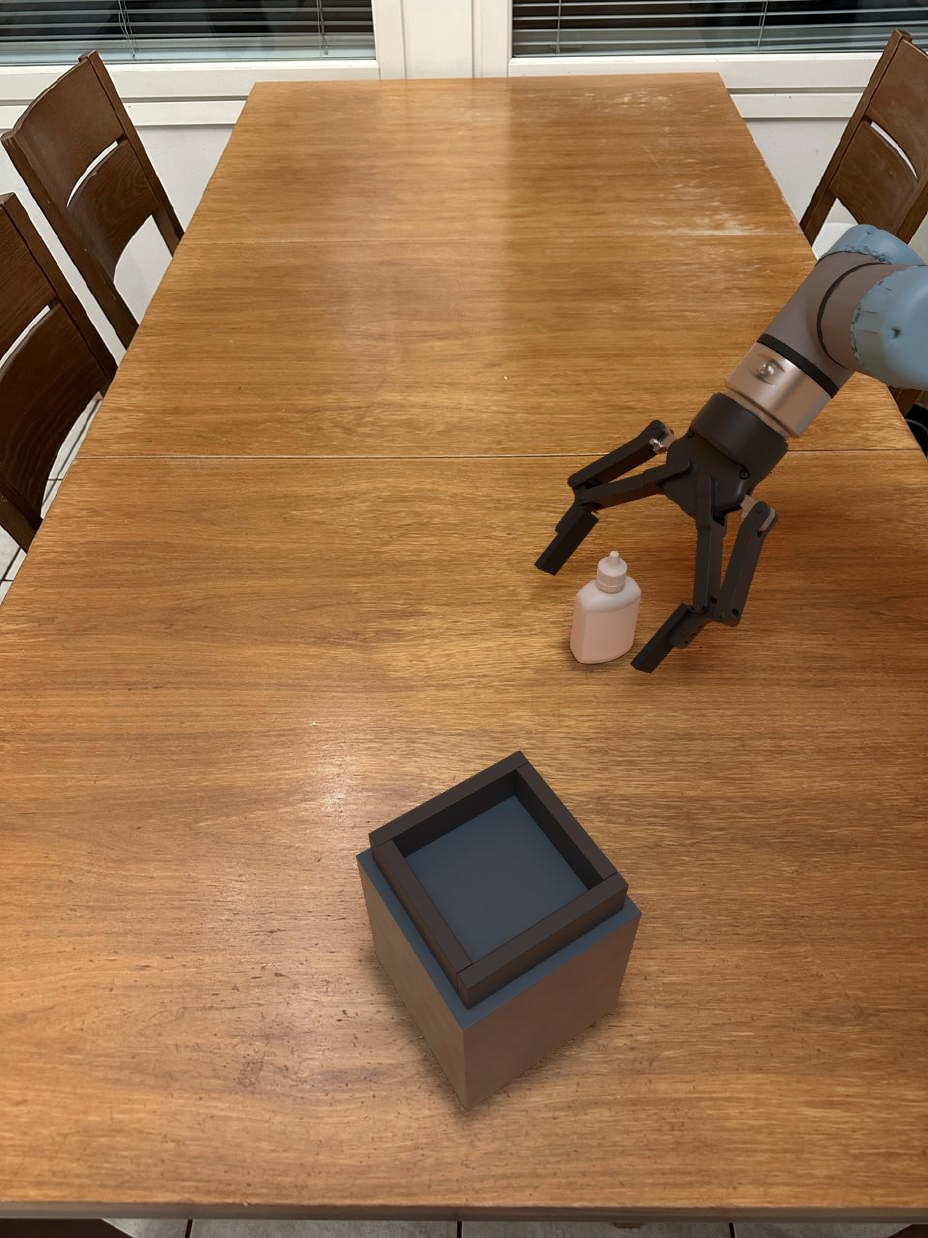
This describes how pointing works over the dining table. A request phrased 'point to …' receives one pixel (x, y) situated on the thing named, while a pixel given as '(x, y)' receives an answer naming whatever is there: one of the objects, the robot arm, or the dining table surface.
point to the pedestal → (497, 924)
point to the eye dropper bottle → (605, 613)
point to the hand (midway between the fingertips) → (589, 617)
